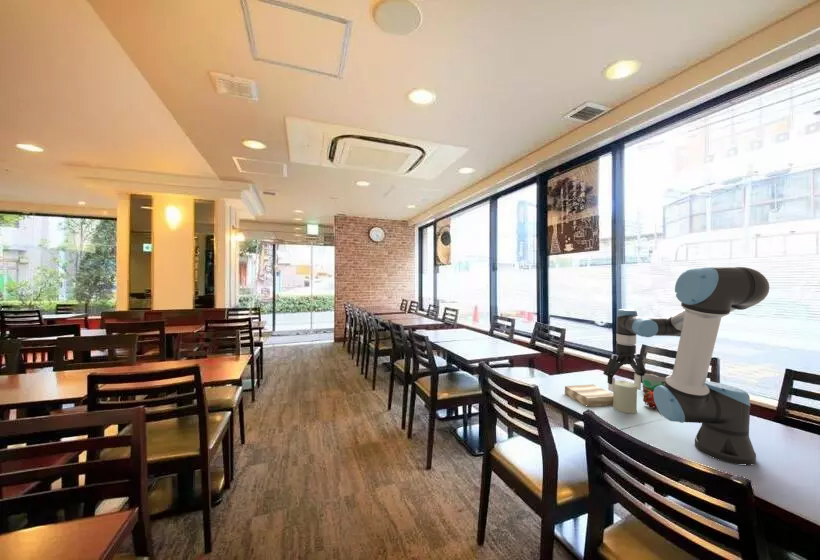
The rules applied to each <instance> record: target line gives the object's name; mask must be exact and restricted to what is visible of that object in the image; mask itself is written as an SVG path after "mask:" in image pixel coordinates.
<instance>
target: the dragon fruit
mask: <svg viewBox="0 0 820 560" xmlns="http://www.w3.org/2000/svg"><path fill="white" fill-rule="evenodd" d="M653 393H654V391H652V392H651V391H647V392H644V393H643V395H642V397H643V399H642V402H644V405H646V406H649V408H652V409H653V408H655V409H657V406H656V404H655V401H654V395H653ZM657 410H658V409H657Z"/></svg>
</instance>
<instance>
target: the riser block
mask: <svg viewBox="0 0 820 560" xmlns="http://www.w3.org/2000/svg"><path fill="white" fill-rule="evenodd" d="M564 394H565V395H566V396H568V397H570V398H571V399H573V400H574V401H577V402H578V403H580V404H582V405H583V404H584V405H583V406H585V405H587V406H590V407H600V406H601V407H603V406H613V392H611V391H609V390H606V389H604V388H603V387H599V386H598V385H595V384H578V385H577V384H576V385H565V386H564ZM587 406H586V407H587Z"/></svg>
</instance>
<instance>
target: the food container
mask: <svg viewBox="0 0 820 560" xmlns="http://www.w3.org/2000/svg"><path fill="white" fill-rule="evenodd" d="M666 377H667V376H661V375H660V376H659V375H658V374H657V375H656V374H653V373H647V372H646V374H645V375H644V376H642V382H641V383H642V391H643V393H645V392H647V391H651V392H652V391H654V389H655V387H657V386H659V385H662V386H664V383H665V379H666Z"/></svg>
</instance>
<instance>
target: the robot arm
mask: <svg viewBox="0 0 820 560" xmlns="http://www.w3.org/2000/svg"><path fill="white" fill-rule="evenodd" d="M769 291H770V283H769V280H768V279H767V278H766V276H765V275H764V274H763V273H761V272H760V271H759V270H757V269H753V268H750V267H744V266H707V265H705V266H700V267H699V266H697V267H695V266H694V267H691V268H688V269H686V270H684V271H683V272H681V274H680V275H678V277H677V280H676V282H675V286H674V292H675V293H676V294H675V298H676V299H677V300H678V301H679V302H680V303H681V304H680V307H682V308H683V309H682V310H680V311H678V312H676V313H675V314H673V315H671V316H669V317H647V316H645V317H643V316H638V311H637V310H635V309H629V308H619V309H618V310H617V312H616V318H615V319H616V332H615V333H616V335H615V336H616V337H615V338H616V344H615V351H616V354H614V353H610V355H609V360H608V362H607V364H606V366H605V369H604V370H603V375H605V376H606V377H607V380H606V381H607V385H608V388H607V389H608V390H607V391H609V392H611V393H613V392H614V391H615V381H616V377H615V376H616V374H617V372H618V371H619V370H620V368H621V367H623V366H624V365H630V367H631V368H632V370H633V371H634V380H633V382H634V384H636V385H637V391H641V389H642V383H643V382H642V376H644V375H645V374H646V373H647V370H646V367H645V365H644V363H643V361H642V355H641V354H640V353H637V345H636V344H637V336H639V337H642V338H643V337H644V338H652V337H654V336H657V337H658V336H659V337H660V336H662V337H663V336H664V337H678V338H679V340H678V341H679V342H678V347H677V351H676V356H675V360H674V364H673V368H672V369H673V370H672V372H671V373H672V374H670V375H667V376H665V377H666V379H665V383H664V386H662V385H659V386H657V387H655V389H654V393H653V395H654V401H655V404H656V406H657V410H658V411H659V414H660V415H662V417H663V418H665V419H666V420H668V421H670V422H676V423H678V422H679V423H682V424H683V423H696V424H697V423H699V424H701V425H700V427H699V430H698V432H697V434H696V436H695V438H694V447H695V448H696V449H697V450H698V451H699V452H701V453H703V454H705V455H706V456H708V455H709V456H708V457H710V456H711V458H713V457H714V458H713V459H715V458H716V460H718V459H719V460H718V461H721V462H724V463H729V464H732V463H733V465H737V464H746V465H745V466H752V465H751V464H753V465H755V464H756V463H757V453H756V452H755V448H754V446H753V444H752V441H751V438H750V417H751V403H750V402H751V400H750V399H751V397H750V395H749V394H748V393H747V392H746V391H745V390H743V389H741V388H739V387H734V386H732V385H728V384H725V383H720V382H715V381H709V380H708V381H707V377H708V373H709V371H710V365H711V361H712V357H713V352H714V349H715V344H716V340H717V338H718V337H717V336H718V333H719V329H720V325H721V320H722V318H724V317H725V316H728V315H730V313H731V312H733V311H736V310H738V311H739V310H740V311H742V310H747V309H749V308H752V307H754V306H755V305H758V304H759V303H761V302H762V301H764V300H765V298H766V297H767V296H768V295H769Z"/></svg>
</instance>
